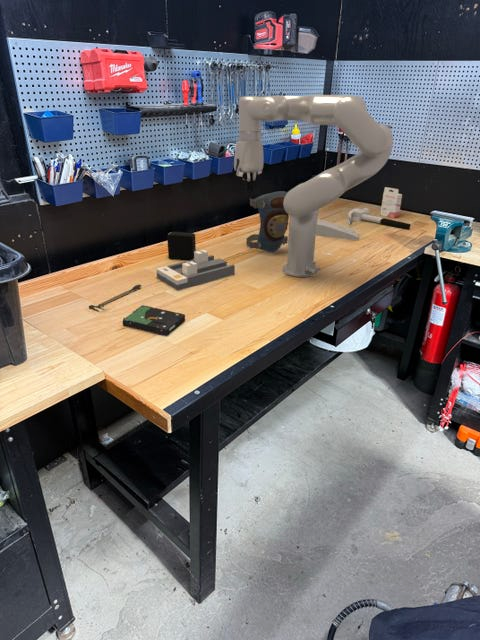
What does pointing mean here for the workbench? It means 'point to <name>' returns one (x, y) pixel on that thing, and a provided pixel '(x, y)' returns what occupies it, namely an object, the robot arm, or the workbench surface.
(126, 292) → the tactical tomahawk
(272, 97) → the robot arm
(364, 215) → the claw hammer
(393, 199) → the ink cartridge box
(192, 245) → the electronic device
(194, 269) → the tab near
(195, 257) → the tab far
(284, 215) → the knee pad
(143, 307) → the disk drive
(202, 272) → the grey slotted tray
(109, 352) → the workbench surface
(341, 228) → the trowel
